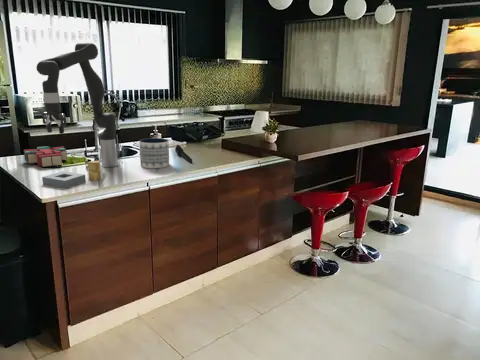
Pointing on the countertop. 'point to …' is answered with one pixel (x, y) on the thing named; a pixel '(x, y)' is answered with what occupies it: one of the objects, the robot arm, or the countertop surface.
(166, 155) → the planter
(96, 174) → the peg
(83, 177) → the hole block
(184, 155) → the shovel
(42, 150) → the toy
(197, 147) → the countertop surface
